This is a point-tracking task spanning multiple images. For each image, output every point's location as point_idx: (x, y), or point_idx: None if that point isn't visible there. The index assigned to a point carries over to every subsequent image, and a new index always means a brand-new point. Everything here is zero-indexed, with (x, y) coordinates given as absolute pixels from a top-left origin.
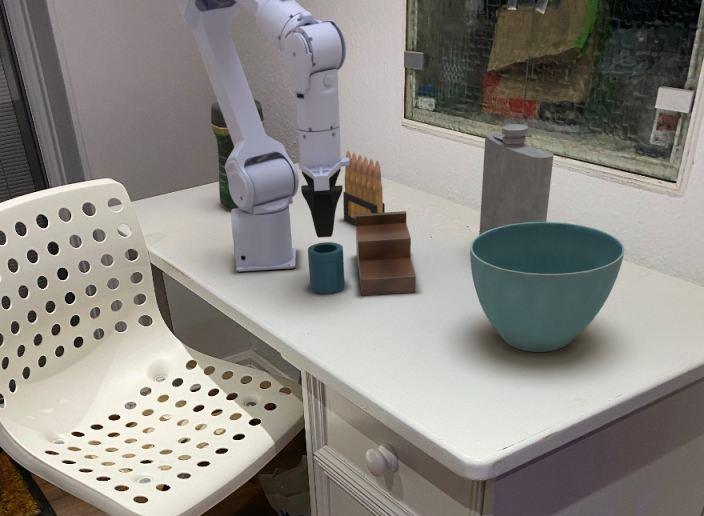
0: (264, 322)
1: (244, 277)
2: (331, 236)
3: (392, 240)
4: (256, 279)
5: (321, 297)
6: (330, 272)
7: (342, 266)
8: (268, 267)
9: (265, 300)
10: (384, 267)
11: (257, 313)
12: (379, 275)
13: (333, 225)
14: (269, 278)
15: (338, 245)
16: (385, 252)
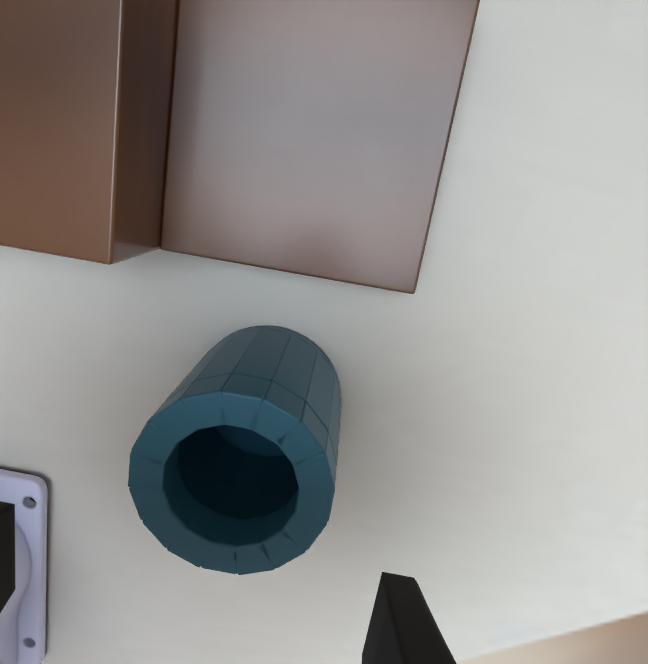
0: (506, 644)
1: (93, 641)
2: (412, 578)
3: (127, 18)
4: (121, 611)
5: (362, 434)
6: (338, 435)
7: (294, 371)
8: (41, 573)
9: (321, 613)
10: (292, 133)
11: None
12: (397, 189)
13: (444, 640)
14: (121, 571)
15: (204, 411)
16: (156, 89)
